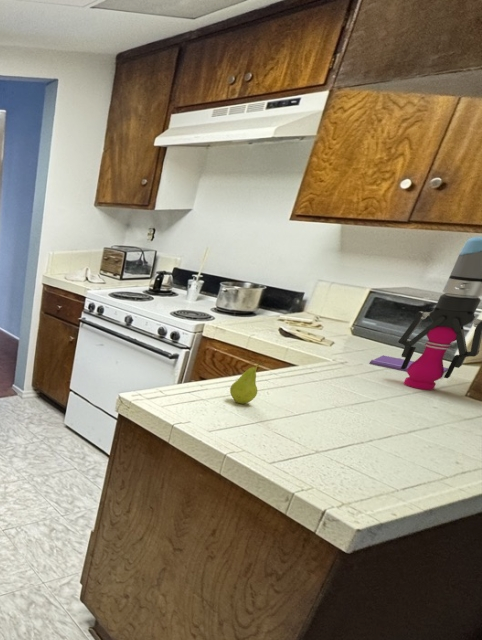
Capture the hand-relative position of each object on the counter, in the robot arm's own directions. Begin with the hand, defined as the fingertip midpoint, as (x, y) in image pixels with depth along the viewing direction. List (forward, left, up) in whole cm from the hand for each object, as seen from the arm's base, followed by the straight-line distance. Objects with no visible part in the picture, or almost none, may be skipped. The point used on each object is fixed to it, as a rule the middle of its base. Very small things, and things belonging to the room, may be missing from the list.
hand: (424, 372), depth 138 cm
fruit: (+22, +62, -5) cm, 66 cm away
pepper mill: (0, 0, -5) cm, 5 cm away
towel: (+7, -23, -4) cm, 24 cm away
